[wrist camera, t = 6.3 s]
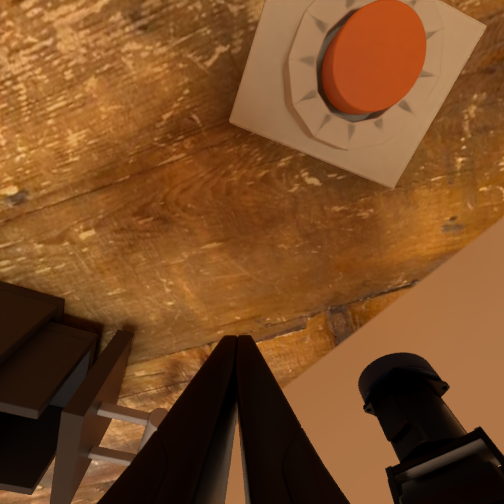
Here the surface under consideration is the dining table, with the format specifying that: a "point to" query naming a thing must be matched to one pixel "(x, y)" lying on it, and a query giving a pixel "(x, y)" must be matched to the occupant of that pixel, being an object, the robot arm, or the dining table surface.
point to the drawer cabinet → (24, 316)
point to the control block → (316, 102)
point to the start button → (374, 58)
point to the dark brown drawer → (62, 409)
